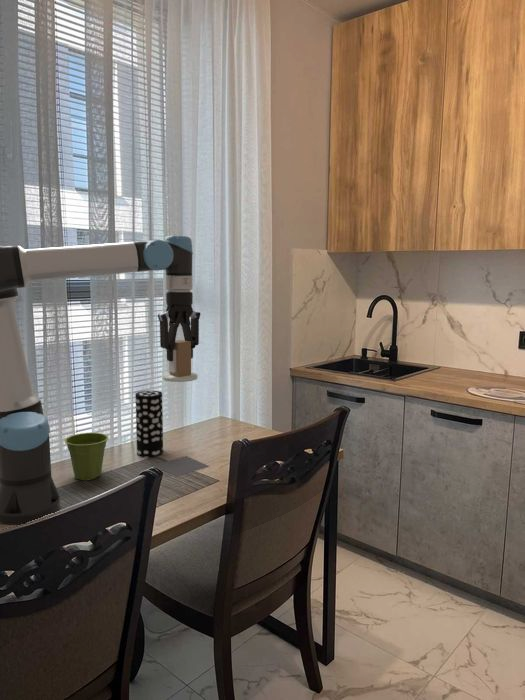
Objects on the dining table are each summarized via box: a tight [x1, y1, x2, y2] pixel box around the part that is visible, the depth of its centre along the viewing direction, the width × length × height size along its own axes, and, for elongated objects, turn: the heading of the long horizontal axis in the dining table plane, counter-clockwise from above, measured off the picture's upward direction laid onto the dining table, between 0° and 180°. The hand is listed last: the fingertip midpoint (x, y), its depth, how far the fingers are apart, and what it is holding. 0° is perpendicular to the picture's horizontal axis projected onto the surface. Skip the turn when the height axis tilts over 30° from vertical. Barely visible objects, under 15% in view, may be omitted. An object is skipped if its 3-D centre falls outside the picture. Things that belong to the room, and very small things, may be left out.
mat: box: [153, 455, 210, 478], centre depth 161 cm, size 12×12×1 cm
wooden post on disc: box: [162, 339, 198, 383], centre depth 156 cm, size 10×10×11 cm
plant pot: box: [64, 432, 109, 481], centre depth 152 cm, size 12×12×11 cm
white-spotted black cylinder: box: [135, 390, 164, 458], centre depth 170 cm, size 8×8×20 cm
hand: (180, 370), depth 156 cm, fingers closed on wooden post on disc, 4 cm apart
